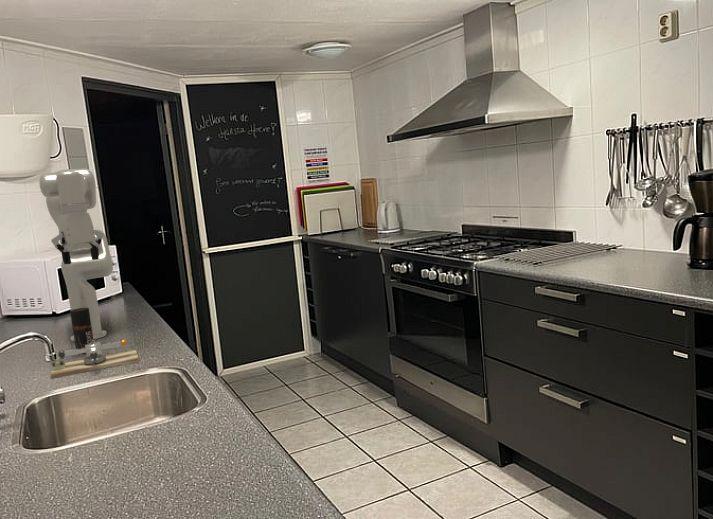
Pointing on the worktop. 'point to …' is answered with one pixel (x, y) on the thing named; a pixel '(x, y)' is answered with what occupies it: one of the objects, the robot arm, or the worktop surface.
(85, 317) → the deodorant
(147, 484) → the worktop surface
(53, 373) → the board
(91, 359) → the capstan
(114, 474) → the worktop surface
